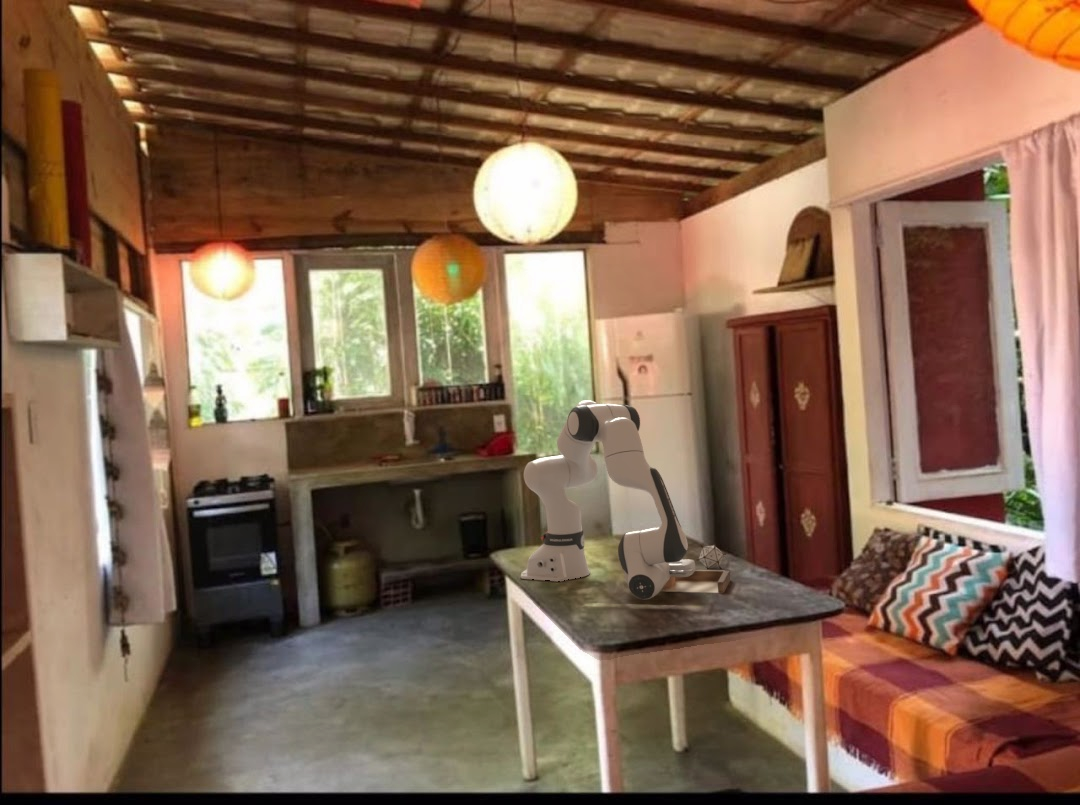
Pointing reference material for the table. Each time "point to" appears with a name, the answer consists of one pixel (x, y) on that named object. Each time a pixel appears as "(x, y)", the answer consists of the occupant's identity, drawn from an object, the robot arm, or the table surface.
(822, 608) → the table surface
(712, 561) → the game die
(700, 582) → the board
